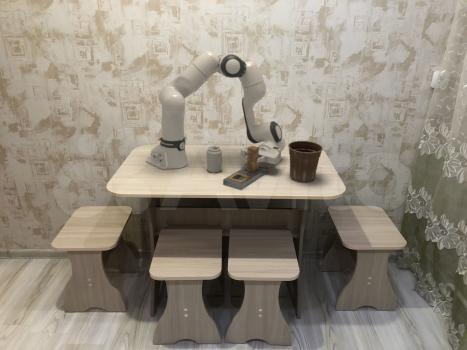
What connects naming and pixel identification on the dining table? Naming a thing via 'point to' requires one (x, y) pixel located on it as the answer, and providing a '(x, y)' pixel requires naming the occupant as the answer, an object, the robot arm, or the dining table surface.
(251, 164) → the walnut peg
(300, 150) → the plant pot
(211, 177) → the dining table surface
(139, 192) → the dining table surface
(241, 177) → the metal plate
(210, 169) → the can
